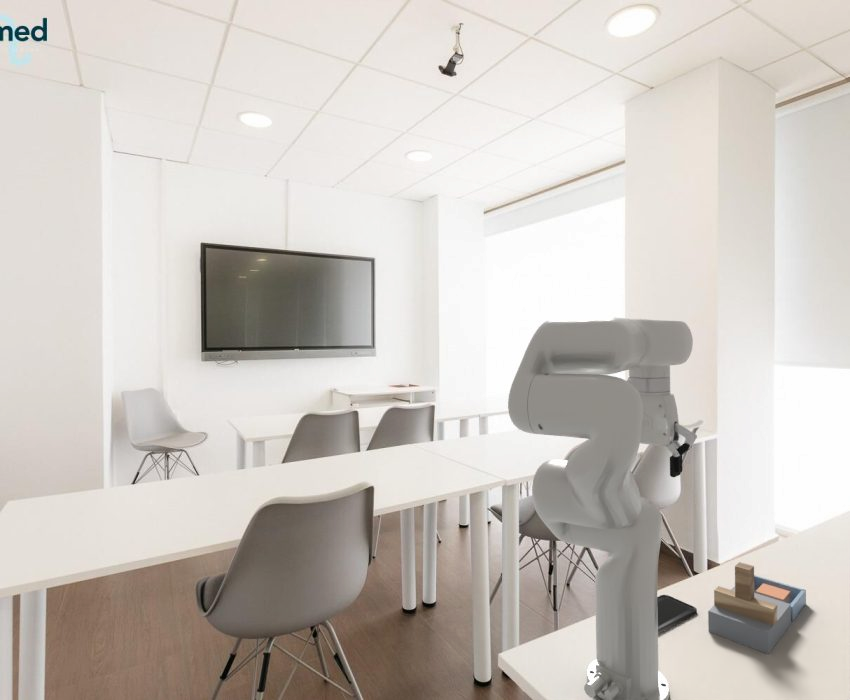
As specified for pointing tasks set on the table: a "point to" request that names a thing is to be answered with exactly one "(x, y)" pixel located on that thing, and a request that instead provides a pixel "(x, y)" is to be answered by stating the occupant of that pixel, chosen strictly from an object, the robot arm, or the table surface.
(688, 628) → the table surface
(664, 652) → the table surface
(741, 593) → the scraper
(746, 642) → the gray rectangular block
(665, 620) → the phone
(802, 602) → the tray
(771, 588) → the tile
